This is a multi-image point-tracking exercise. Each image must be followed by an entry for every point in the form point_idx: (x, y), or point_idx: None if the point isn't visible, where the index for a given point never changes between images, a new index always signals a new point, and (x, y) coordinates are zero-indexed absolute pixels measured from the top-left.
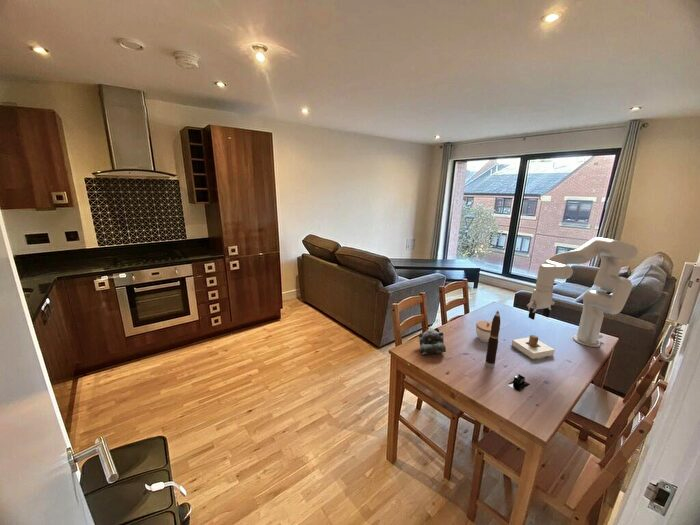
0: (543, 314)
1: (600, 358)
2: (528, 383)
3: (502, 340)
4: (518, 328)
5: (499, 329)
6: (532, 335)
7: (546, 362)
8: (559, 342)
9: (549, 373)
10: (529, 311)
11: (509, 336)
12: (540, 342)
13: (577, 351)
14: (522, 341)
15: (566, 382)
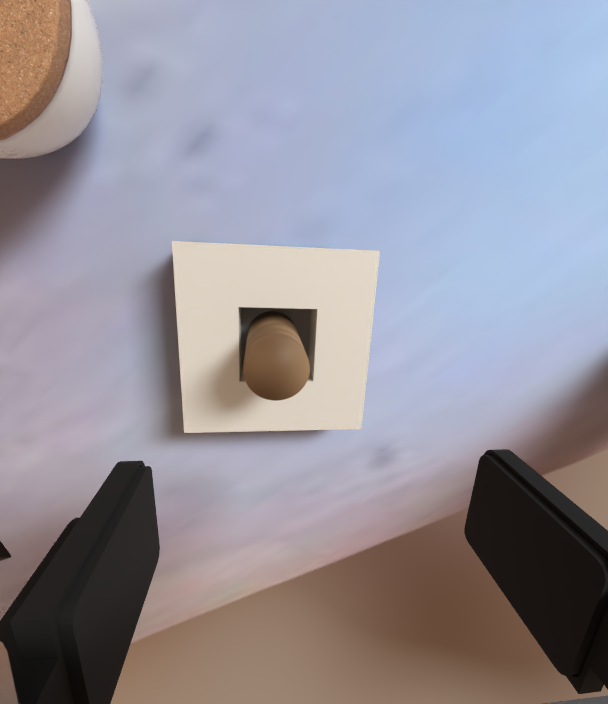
0: (492, 475)
1: (547, 470)
2: (6, 552)
3: (175, 145)
4: (483, 13)
5: (18, 120)
6: (284, 346)
7: (255, 443)
8: (538, 302)
9: (184, 513)
10: (38, 586)
11: (286, 109)
12: (358, 337)
13: (520, 402)
14: (236, 287)
15: (205, 570)
